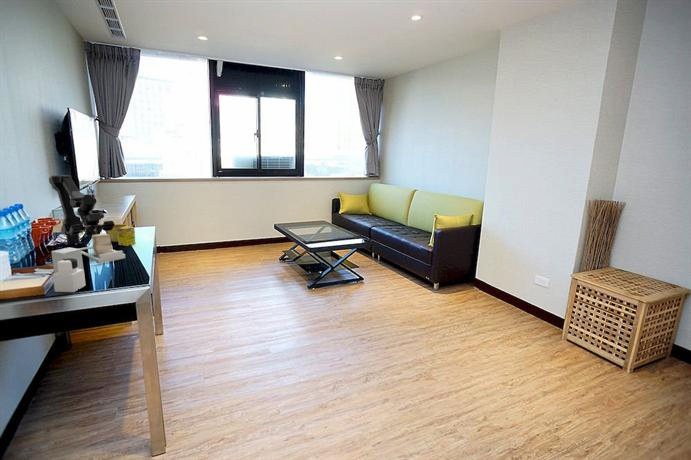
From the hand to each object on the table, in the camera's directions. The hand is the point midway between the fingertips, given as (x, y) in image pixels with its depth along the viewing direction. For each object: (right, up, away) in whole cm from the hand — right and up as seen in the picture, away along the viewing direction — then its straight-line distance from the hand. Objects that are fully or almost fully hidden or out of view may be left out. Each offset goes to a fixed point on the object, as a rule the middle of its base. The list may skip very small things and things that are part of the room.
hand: (99, 241), depth 178 cm
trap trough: (-1, -7, +2) cm, 8 cm away
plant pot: (-8, -2, +27) cm, 28 cm away
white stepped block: (+16, -18, -39) cm, 46 cm away
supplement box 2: (+2, -4, +20) cm, 21 cm away
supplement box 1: (+9, -15, -30) cm, 35 cm away
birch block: (+2, -7, 0) cm, 7 cm away
